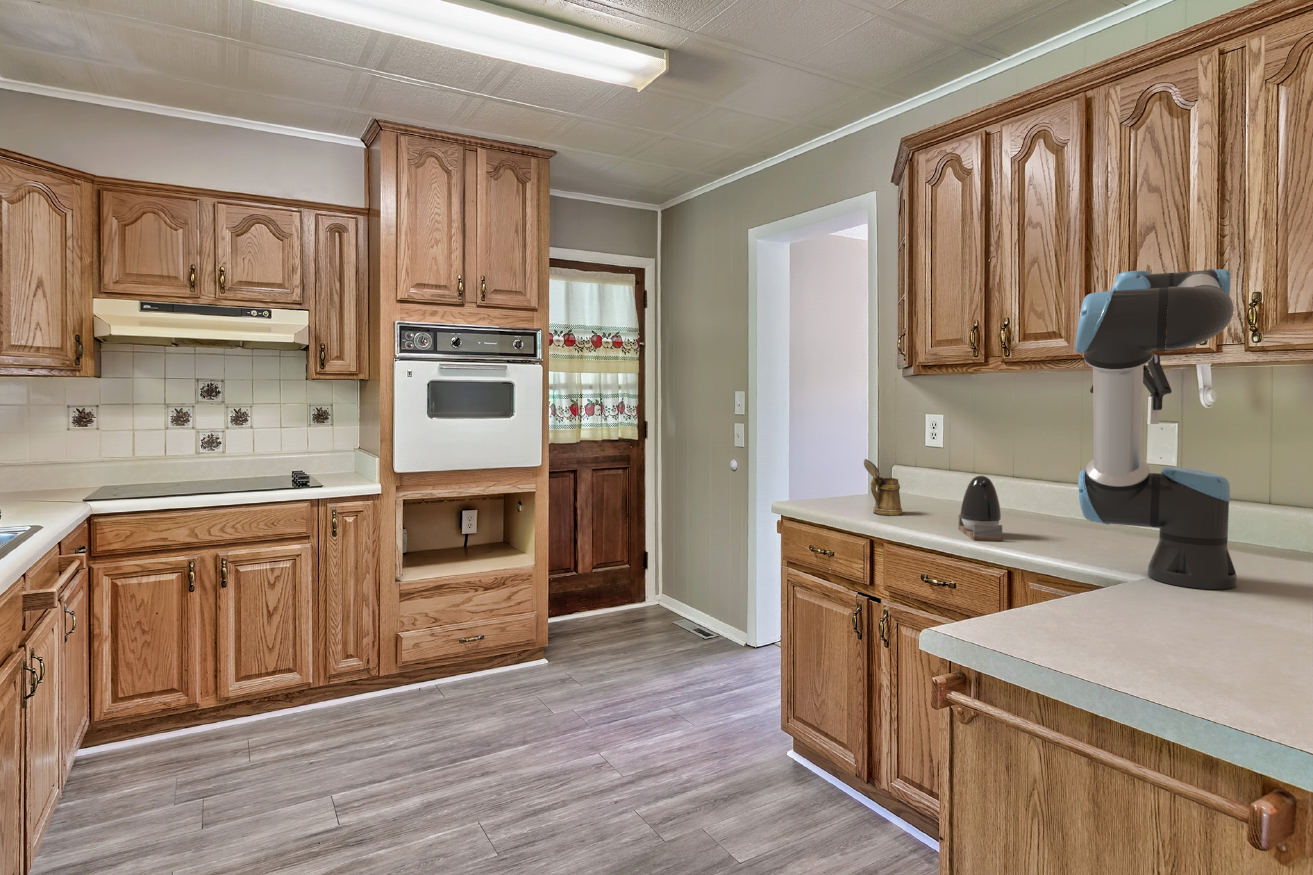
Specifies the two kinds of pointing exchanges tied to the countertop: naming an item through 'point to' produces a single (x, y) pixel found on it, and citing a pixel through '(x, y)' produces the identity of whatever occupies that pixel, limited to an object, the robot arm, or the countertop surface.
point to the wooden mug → (884, 492)
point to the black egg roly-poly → (980, 503)
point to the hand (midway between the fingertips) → (1127, 422)
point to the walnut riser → (982, 531)
